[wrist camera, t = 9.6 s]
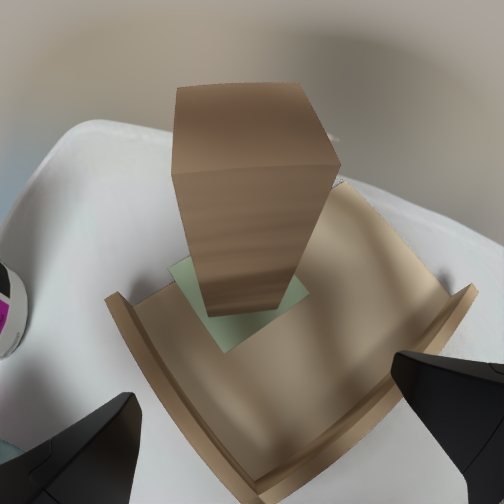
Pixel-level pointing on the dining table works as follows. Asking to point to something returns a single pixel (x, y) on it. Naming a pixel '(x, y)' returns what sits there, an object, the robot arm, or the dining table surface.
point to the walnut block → (248, 188)
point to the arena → (293, 352)
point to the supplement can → (11, 310)
